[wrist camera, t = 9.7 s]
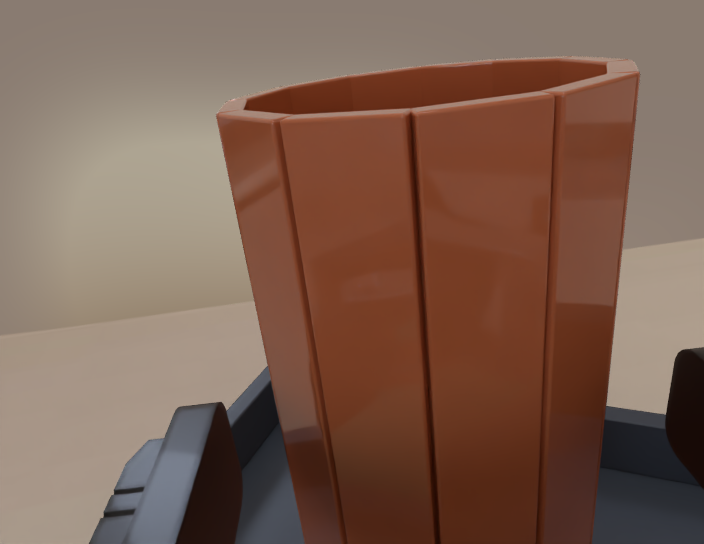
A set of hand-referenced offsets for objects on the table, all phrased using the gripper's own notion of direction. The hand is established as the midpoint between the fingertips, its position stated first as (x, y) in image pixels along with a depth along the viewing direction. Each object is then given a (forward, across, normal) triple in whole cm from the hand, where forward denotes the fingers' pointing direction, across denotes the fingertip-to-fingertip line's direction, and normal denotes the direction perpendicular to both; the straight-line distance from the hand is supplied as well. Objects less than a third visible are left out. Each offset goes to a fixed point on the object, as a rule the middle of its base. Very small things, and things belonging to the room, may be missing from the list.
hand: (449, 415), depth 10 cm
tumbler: (+2, 0, +7) cm, 8 cm away
